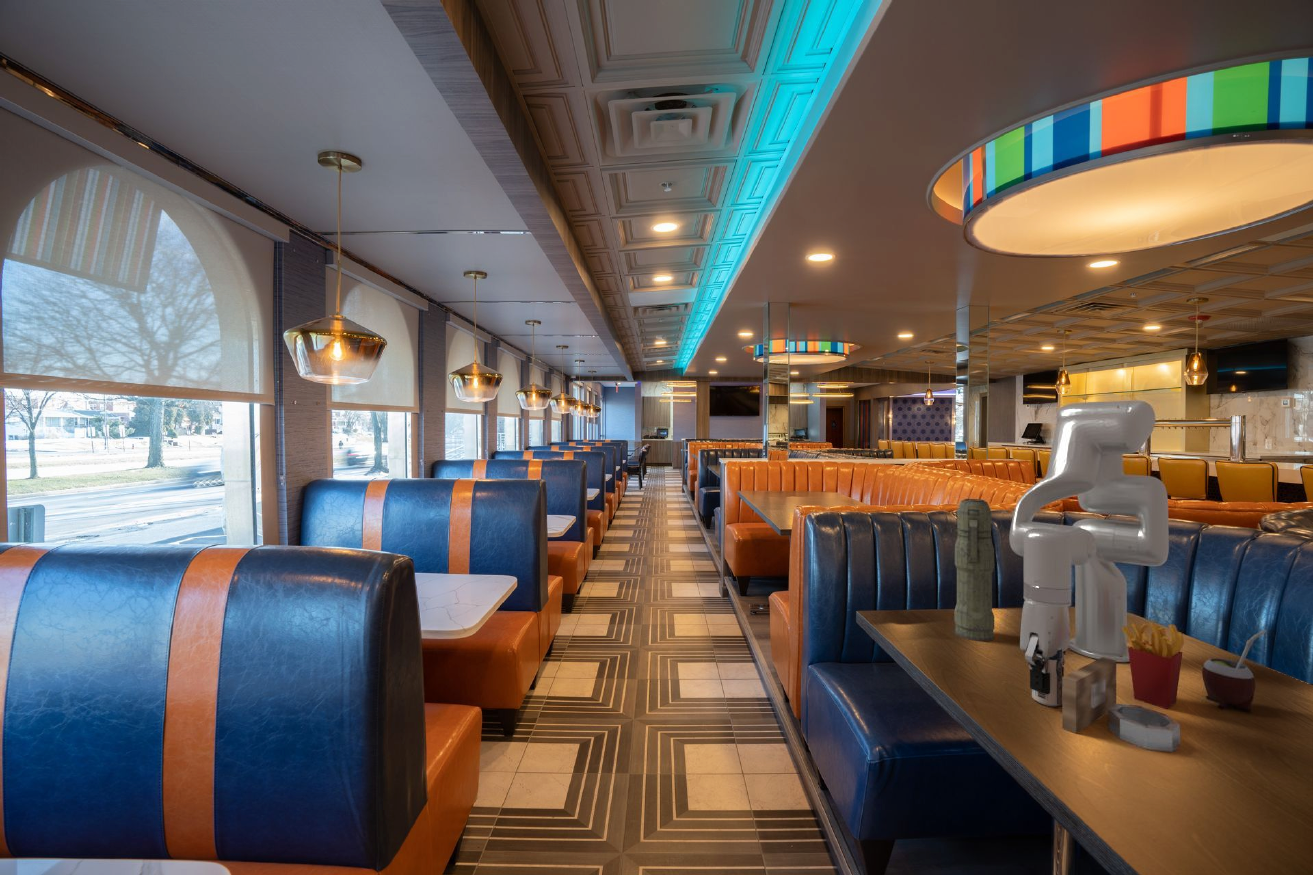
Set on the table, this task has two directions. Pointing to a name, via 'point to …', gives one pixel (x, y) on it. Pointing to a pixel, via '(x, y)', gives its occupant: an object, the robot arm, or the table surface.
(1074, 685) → the brown flat block
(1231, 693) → the mate gourd
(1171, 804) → the table surface
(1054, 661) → the beer can
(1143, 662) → the french fries
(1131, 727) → the grey octagonal ring
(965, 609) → the thermos
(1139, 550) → the robot arm
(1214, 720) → the table surface
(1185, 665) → the table surface
